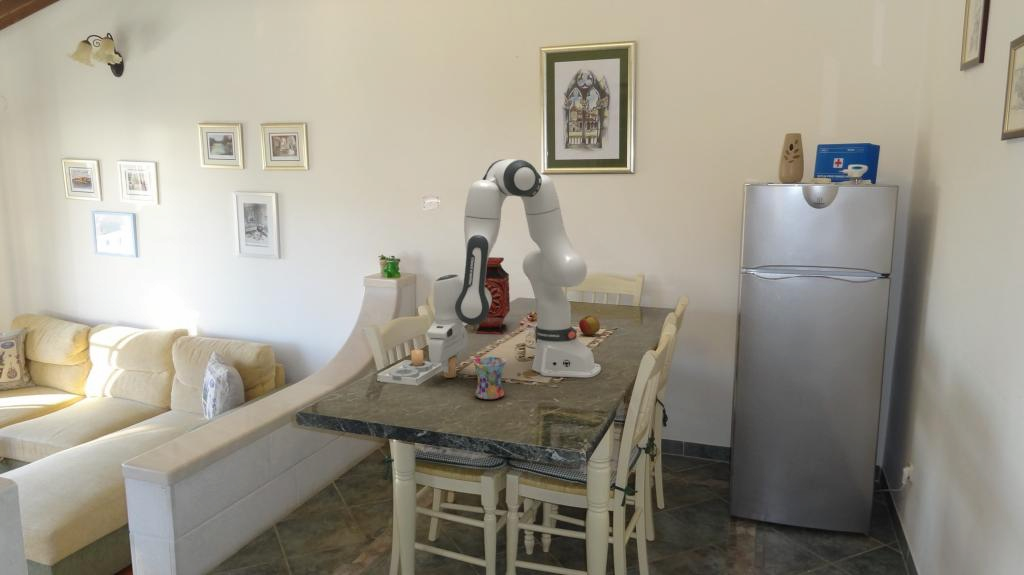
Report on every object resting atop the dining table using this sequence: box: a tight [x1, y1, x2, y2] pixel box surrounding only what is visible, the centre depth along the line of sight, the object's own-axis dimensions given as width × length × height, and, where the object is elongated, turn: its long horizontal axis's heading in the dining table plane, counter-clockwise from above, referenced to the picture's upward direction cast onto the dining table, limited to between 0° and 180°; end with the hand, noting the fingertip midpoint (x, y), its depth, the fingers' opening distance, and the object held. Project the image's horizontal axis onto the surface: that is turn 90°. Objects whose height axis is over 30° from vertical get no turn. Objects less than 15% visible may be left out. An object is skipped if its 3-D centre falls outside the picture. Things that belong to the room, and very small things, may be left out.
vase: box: [476, 256, 511, 335], centre depth 276 cm, size 14×14×30 cm
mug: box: [472, 356, 506, 400], centre depth 196 cm, size 12×9×11 cm
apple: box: [578, 315, 601, 337], centre depth 269 cm, size 8×8×8 cm
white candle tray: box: [376, 349, 443, 387], centre depth 216 cm, size 14×18×7 cm
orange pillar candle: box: [443, 356, 457, 379], centre depth 213 cm, size 4×4×6 cm
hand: (450, 369), depth 213 cm, fingers closed on orange pillar candle, 4 cm apart
